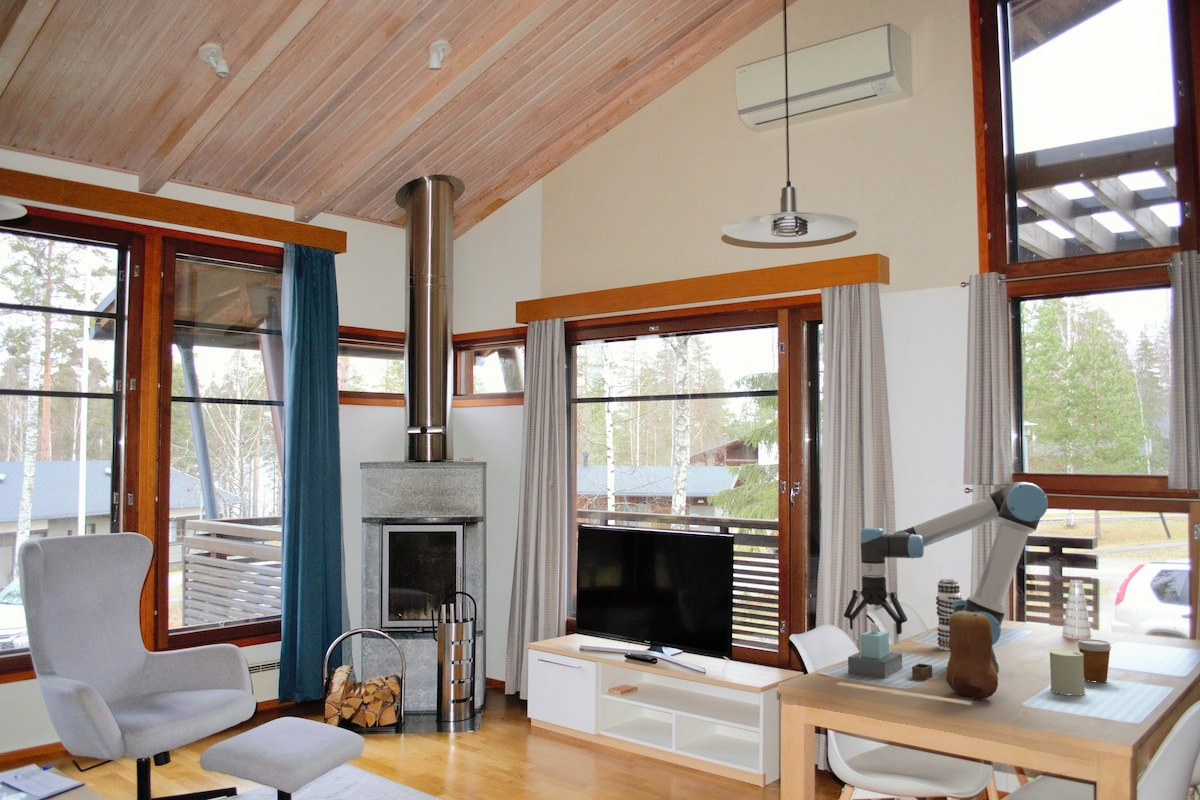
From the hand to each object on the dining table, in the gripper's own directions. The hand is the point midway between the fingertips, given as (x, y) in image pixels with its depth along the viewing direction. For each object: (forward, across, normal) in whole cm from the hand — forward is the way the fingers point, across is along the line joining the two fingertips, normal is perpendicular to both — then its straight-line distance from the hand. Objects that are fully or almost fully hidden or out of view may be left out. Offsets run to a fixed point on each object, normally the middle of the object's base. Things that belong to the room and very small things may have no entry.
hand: (875, 642), depth 298 cm
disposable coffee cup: (+11, +58, +32) cm, 67 cm away
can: (+11, +54, +12) cm, 56 cm away
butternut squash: (+11, +33, -13) cm, 37 cm away
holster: (+10, +15, 0) cm, 18 cm away
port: (+10, 0, 0) cm, 10 cm away
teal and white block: (+8, 0, 0) cm, 8 cm away
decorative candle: (+11, +7, +56) cm, 57 cm away
